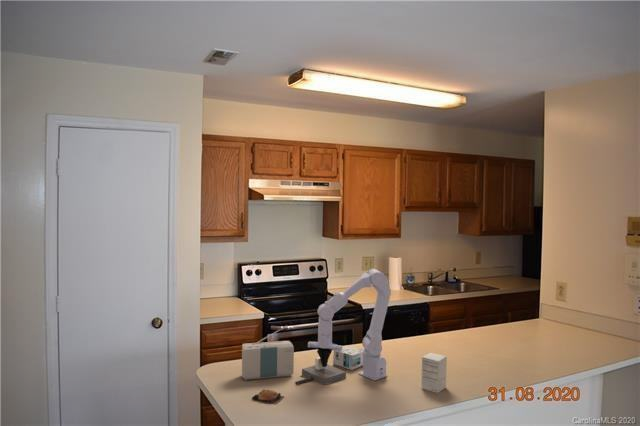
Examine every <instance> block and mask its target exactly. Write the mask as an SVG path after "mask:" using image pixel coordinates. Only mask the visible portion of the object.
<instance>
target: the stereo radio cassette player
mask: <svg viewBox="0 0 640 426" xmlns="http://www.w3.org/2000/svg"><path fill="white" fill-rule="evenodd" d="M286 327H287V328H288V325H285V326H284V327H282V328H280V329H277V330H276V331H275V332H273V333H270V334H269V335H268V336H265V337H263V338H261V339H260V340H258V341H257V342H250V343H249V342H248V343H247V342H246V343H242V345H241V347H242V348H241V376H242V379H244V380H245V381H247V380H258V379H267V378H268V379H269V378H279V377H291V376H292V375H293V374H294V370H295V369H294V364H295V363H294V362H295V361H294V360H295V359H294V357H295V356H294V354H295V353H294V352H295V349H294V348H295V347H294V345H293V343H292V342H291V341H290V340H279V341H267V342H264V340H266V339H268V338H270V337H271V336H272V335H274V334H277V333H278V332H280V331H281V330H282V329H283V330H284V329H285V328H286Z"/></svg>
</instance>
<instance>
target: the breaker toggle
mask: <svg viewBox="0 0 640 426" xmlns="http://www.w3.org/2000/svg"><path fill="white" fill-rule="evenodd" d="M314 361H315V369H317V370H320V369H324V368H325V367H322V363H321V359H320V356H318V357H315V358H314Z"/></svg>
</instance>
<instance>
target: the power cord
mask: <svg viewBox="0 0 640 426" xmlns="http://www.w3.org/2000/svg"><path fill="white" fill-rule="evenodd" d="M311 381H314V380H313V378H312V377H310V378H308V377H306V378H303V379H300V380H297V381H295V383H294V384H295V385H296V386H297V385H300V384H303V383H307V382H311Z"/></svg>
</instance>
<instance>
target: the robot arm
mask: <svg viewBox="0 0 640 426" xmlns="http://www.w3.org/2000/svg"><path fill="white" fill-rule="evenodd" d="M372 286H373V288H374V289H375V291H376V292H377V295H376V301H375V304H374V308H373V313H372V316H371V321H370V325H369V329H368V330H367V331H366V335H365V336H364V337H363V338H362V343H361V344H362V346H363V348H364V349H363V350H364V352H363V366H362V371H360V372H358V375H361V376H362V377H365V378H368V379H369V380H372V381H376V380H380V379H383V378H386V377H387V376H388V374H387V361H386V358H385V357H383V356H382V351H383V347H382V342H383V341H382V340H383V337H382V332H383V331H382V330H383V328H384V323H385V318H386V315H387V310H388V306H389V304H390V303H389V302H390V298H391V294H392V293H391V291H392V290H391V288H390V284H389V279H388V277H387V276H386V275H385V273H383V272H382V271H379V270H378V269H376V268H370V269H368V270H367V271H366V272H363V273H362V274H361V276H360V277H359V278H357V279H356V280H355V281H354V282H352V284H351V285H350V286H349V287H347V288H346V289H345V290H344V291H342V292H340V291H338V292H334V293H333V296H332V297H331V298H329V300H326V301H324V303H322V304H320V305H319V306H318V308H317V311H316V312H317V315H318V325H317V326H318V328H317V332H318V333H317V341H308V342H307V348H315V349H317V350H316V351H317V352H316V353H317V354H318V357H320V359H321V363H322V367H326V366H327V364H328V362H329V358H330V356H331V354H332V351H334V350H336V351H339V352H341V351H342V347H343V345H341V344H340V345H338V344H336V343H333V317H335V316H334V315H335V313H337V312H338V311H340V310H341V309H342V308H343V307H344V306H346V305H347V304H348V301H349V299H350V298H351V297H352V296H354V295H355V294H357V293H358V292H359V291H360V290H362V289H364V288H372Z"/></svg>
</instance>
